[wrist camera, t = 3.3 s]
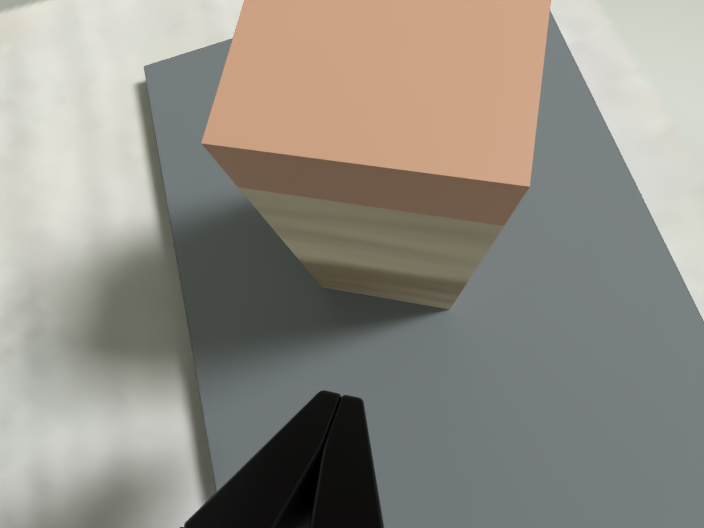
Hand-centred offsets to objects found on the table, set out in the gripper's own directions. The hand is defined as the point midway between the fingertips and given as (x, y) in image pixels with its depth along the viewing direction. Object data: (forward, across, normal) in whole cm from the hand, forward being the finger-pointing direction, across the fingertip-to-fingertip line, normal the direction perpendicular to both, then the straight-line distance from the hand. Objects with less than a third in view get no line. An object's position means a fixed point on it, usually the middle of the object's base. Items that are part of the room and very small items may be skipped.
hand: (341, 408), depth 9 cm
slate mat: (+9, 0, +2) cm, 9 cm away
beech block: (+8, 0, 0) cm, 9 cm away
